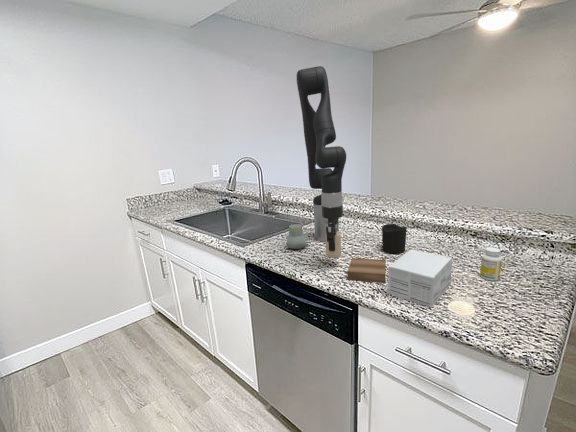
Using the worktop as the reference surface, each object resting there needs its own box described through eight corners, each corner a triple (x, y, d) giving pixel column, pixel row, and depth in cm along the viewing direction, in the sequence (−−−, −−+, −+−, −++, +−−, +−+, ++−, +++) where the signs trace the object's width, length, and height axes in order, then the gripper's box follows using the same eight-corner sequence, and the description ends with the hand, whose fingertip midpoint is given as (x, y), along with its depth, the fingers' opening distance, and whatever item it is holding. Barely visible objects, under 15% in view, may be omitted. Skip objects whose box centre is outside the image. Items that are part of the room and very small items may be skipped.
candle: (329, 259, 111) (328, 233, 108) (324, 253, 116) (323, 229, 113) (343, 256, 112) (343, 231, 110) (337, 251, 117) (336, 226, 115)
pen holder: (402, 246, 129) (403, 223, 127) (408, 254, 120) (409, 230, 118) (379, 246, 130) (380, 224, 128) (384, 254, 121) (384, 231, 119)
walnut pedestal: (351, 265, 113) (351, 257, 113) (385, 267, 110) (385, 259, 109) (347, 279, 102) (347, 271, 102) (385, 282, 99) (385, 274, 98)
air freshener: (306, 251, 131) (305, 228, 128) (287, 252, 131) (285, 230, 128) (305, 242, 141) (304, 221, 139) (287, 243, 142) (286, 222, 139)
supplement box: (409, 274, 104) (410, 248, 102) (451, 284, 95) (453, 257, 93) (386, 294, 92) (387, 265, 90) (432, 308, 83) (434, 277, 81)
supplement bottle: (487, 281, 95) (491, 253, 93) (476, 274, 100) (478, 247, 98) (504, 280, 96) (507, 251, 93) (491, 273, 101) (494, 245, 98)
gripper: (325, 199, 116) (326, 240, 121) (317, 208, 103) (319, 254, 108) (345, 199, 114) (345, 241, 119) (339, 209, 101) (341, 256, 106)
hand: (333, 247), depth 113 cm, fingers closed on candle, 5 cm apart
